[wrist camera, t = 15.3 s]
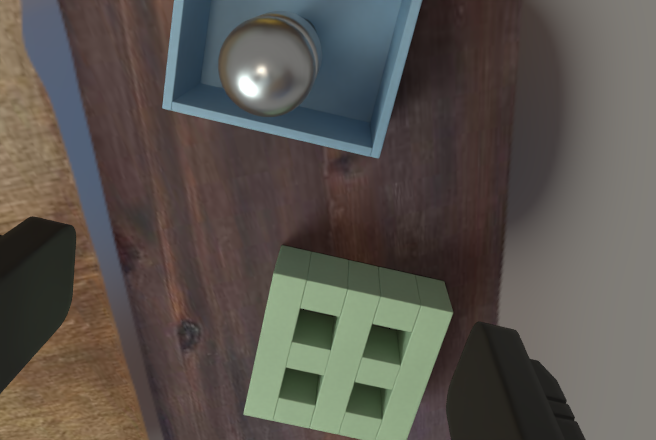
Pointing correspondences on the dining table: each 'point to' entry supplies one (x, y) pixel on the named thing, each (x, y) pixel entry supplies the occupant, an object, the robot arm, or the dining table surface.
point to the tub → (332, 79)
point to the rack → (346, 346)
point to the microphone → (270, 63)
